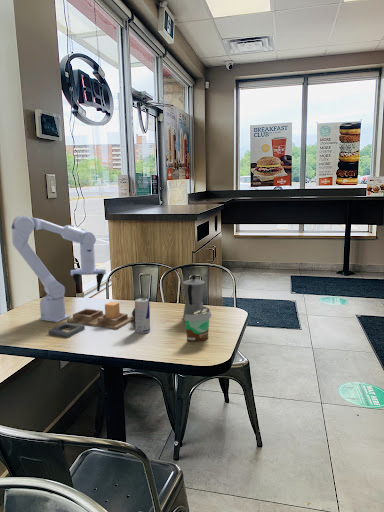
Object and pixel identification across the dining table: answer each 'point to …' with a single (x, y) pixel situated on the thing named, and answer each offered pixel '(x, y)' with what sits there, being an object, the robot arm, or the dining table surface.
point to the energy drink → (142, 315)
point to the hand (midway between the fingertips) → (89, 291)
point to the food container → (198, 325)
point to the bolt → (133, 315)
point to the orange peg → (112, 310)
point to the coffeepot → (193, 295)
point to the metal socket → (68, 334)
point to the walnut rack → (99, 319)
